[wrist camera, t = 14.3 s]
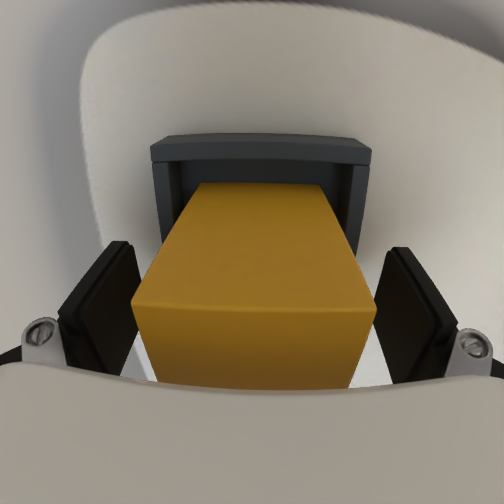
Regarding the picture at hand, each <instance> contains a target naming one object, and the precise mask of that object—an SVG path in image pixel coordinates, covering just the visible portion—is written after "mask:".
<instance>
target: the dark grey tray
mask: <svg viewBox="0 0 504 504" xmlns="http://www.w3.org/2000/svg"><path fill="white" fill-rule="evenodd" d="M150 150H151V161H152V162H153V163H152V170H153V179H154V188H155V196H156V204H157V211H158V219H159V225H160V232H161V239H162V245H163V243H164V241H165V240H166V238H167V236H168V235H169V233H170V231H171V230H172V228H173V226H174V225H175V223H176V221H177V220H178V218H179V217H180V215H181V213H182V212H183V210H184V208H185V207H186V205H187V204H188V202H189V201H190V199H191V197H192V196H193V194H194V193H195V191H196V190H197V188H198V187H199V185H200V183H219V182H241V183H291V184H315V185H320V187H321V189H322V191H323V193H324V195H325V197H326V199H327V201H328V203H329V204H330V206H331V208H332V210H333V212H334V214H335V216H336V218H337V220H338V222H339V225H340V227H341V229H342V231H343V233H344V235H345V237H346V239H347V241H348V243H349V245H350V248H351V250H352V252H353V254H354V256H355V258H356V253H357V247H358V242H359V237H360V231H361V225H362V219H363V213H364V207H365V200H366V193H367V186H368V179H369V171H370V166H369V165H370V162H371V153H372V150H371V148H369V147H367V146H366V145H364V144H363V143H361V142H359V141H358V140H356V139H353V138H342V137H331V136H317V135H300V134H275V133H216V134H191V135H174V136H167V137H166V138H164V139H162V140H160V141H158V142H156V143H155V144H153V145H151V146H150Z"/></svg>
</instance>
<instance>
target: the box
mask: <svg viewBox="0 0 504 504" xmlns="http://www.w3.org/2000/svg"><path fill="white" fill-rule="evenodd" d="M131 307H132V310H133V313H134V316H135V319H136V323H137V326H138V329H139V332H140V335H141V337H142V340H143V343H144V346H145V349H146V352H147V354H148V357H149V360H150V363H151V365H152V368H153V370H154V373H155V376H156V378H157V381H158V382H161V383H169V384H178V385H188V386H198V387H210V388H224V389H243V390H327V389H346V388H348V387H349V384H350V382H351V379H352V377H353V375H354V372H355V370H356V367H357V365H358V362H359V359H360V357H361V354H362V352H363V349H364V346H365V343H366V341H367V338H368V335H369V332H370V329H371V326H372V324H373V321H374V318H375V315H376V311H377V307H376V305H375V302H374V300H373V297H372V295H371V293H370V290H369V288H368V286H367V283H366V281H365V279H364V276H363V274H362V272H361V270H360V267H359V265H358V263H357V261H356V258H355V256H354V254H353V252H352V250H351V248H350V245H349V243H348V241H347V239H346V237H345V235H344V233H343V231H342V229H341V227H340V225H339V222H338V220H337V218H336V216H335V214H334V212H333V210H332V208H331V206H330V204H329V203H328V201H327V199H326V197H325V195H324V193H323V191H322V189H321V187H320V185H315V184H291V183H241V182H219V183H200V185H199V187H198V188H197V190H196V191H195V193H194V194H193V196H192V197H191V199H190V201H189V202H188V204H187V205H186V207H185V208H184V210H183V212H182V213H181V215H180V217H179V218H178V220H177V221H176V223H175V225H174V226H173V228H172V230H171V231H170V233H169V235H168V236H167V238H166V240H165V241H164V243H163V245H162V246H161V248H160V250H159V252H158V253H157V255H156V257H155V258H154V260H153V262H152V264H151V265H150V267H149V269H148V271H147V273H146V274H145V276H144V278H143V280H142V282H141V283H140V285H139V287H138V289H137V291H136V293H135V294H134V296H133V298H132V300H131Z"/></svg>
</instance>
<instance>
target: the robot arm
mask: <svg viewBox="0 0 504 504" xmlns="http://www.w3.org/2000/svg"><path fill="white" fill-rule="evenodd" d="M141 282H142V281H141V277H140V273H139V269H138V265H137V260H136V256H135V251H134V247H133V246H132V245H130V244H129V243H128V242H127V241H112V242H111V243H110V244H109V245H108V247H107V248H106V249H105V250H104V251H103V253H102V254H101V255H100V256H99V257H98V259H97V260H96V261H95V262H94V264H93V265H92V266H91V268H90V269H89V270H88V271H87V273H86V274H85V275H84V276H83V278H82V279H81V281H80V282H79V283H78V284H77V286H76V287H75V288H74V290H73V291H72V292H71V294H70V295H69V296H68V298H67V299H66V301H65V302H64V303H63V305H62V306H61V308H60V309H59V310H58V314H59V318H58V320H57V321H56V320H55V319H53V318H50V317H43V318H39V319H37V320H35V321H33V322H32V323H30V324H29V325H28V326H27V327H26V328H25V330H24V332H23V334H22V339H21V343H22V344H21V345H20V346H18V347H16V348H14V349H11V350H9V351H8V352H5V353H3V354H1V355H0V504H504V364H503V363H501V362H499V361H497V360H495V359H494V358H492V356H493V347H492V345H491V342H490V341H489V339H488V338H487V337H486V336H485V335H484V334H483V333H481V332H479V331H478V330H475V329H471V328H465V329H461V330H460V331H459V330H458V328H457V327H456V326H457V324H458V321H457V319H456V318H455V316H454V314H453V313H452V311H451V310H450V308H449V306H448V305H447V303H446V302H445V300H444V298H443V297H442V295H441V294H440V292H439V291H438V289H437V288H436V286H435V285H434V283H433V282H432V280H431V279H430V277H429V276H428V274H427V273H426V271H425V270H424V268H423V267H422V266H421V264H420V263H419V261H418V260H417V258H416V257H415V256H414V254H413V253H412V252H411V250H410V249H409V248H408V247H393V248H392V249H391V251H388V252H387V254H386V257H385V261H384V265H383V269H382V273H381V276H380V280H379V284H378V287H377V291H376V294H375V297H374V302H375V305H376V307H377V311H376V315H375V318H374V321H373V325H374V328H375V330H376V333H377V336H378V339H379V342H380V345H381V348H382V351H383V354H384V357H385V360H386V363H387V366H388V369H389V373H390V376H391V379H392V382H393V384H390V385H381V386H371V387H360V388H346V389H327V390H243V389H224V388H210V387H198V386H188V385H178V384H169V383H161V382H154V381H147V380H140V379H134V378H128V377H122V376H120V374H121V371H122V368H123V366H124V364H125V361H126V359H127V356H128V354H129V351H130V349H131V347H132V345H133V342H134V340H135V338H136V335H137V333H138V331H139V329H138V326H137V323H136V319H135V316H134V313H133V310H132V307H131V300H132V298H133V296H134V294H135V293H136V291H137V289H138V287H139V285H140V283H141Z"/></svg>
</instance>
